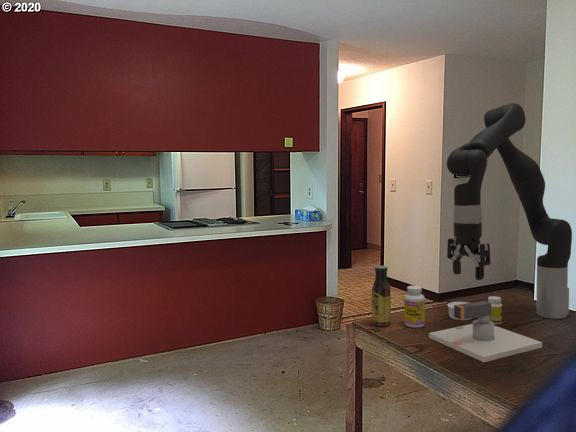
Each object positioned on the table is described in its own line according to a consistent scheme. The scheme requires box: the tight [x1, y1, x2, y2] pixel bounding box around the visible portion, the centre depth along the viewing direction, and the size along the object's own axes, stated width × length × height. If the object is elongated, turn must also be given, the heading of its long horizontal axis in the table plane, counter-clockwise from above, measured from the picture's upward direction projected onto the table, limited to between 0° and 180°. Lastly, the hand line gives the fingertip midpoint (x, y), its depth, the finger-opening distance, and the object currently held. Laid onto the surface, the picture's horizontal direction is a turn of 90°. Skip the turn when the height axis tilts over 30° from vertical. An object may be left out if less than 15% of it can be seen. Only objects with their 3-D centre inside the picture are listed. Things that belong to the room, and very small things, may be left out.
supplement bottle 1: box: [403, 285, 426, 329], centre depth 164 cm, size 7×7×13 cm
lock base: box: [428, 319, 543, 363], centre depth 146 cm, size 22×22×6 cm
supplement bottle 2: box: [487, 295, 503, 325], centre depth 163 cm, size 5×5×8 cm
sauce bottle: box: [371, 265, 392, 327], centre depth 165 cm, size 7×6×20 cm
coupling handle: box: [454, 300, 491, 323], centre depth 144 cm, size 10×3×6 cm, turn 107°
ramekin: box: [447, 301, 473, 321], centre depth 171 cm, size 9×9×4 cm
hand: (468, 276), depth 141 cm, fingers open, 8 cm apart
